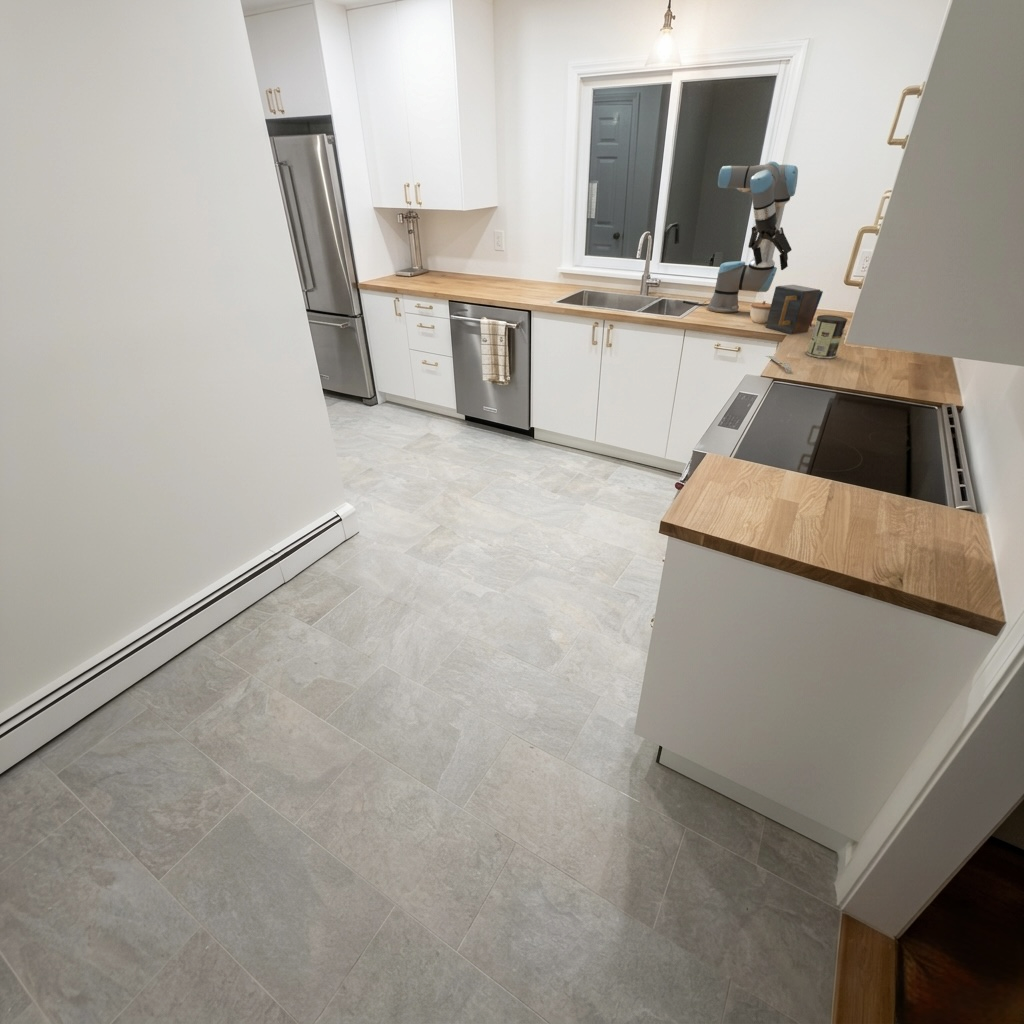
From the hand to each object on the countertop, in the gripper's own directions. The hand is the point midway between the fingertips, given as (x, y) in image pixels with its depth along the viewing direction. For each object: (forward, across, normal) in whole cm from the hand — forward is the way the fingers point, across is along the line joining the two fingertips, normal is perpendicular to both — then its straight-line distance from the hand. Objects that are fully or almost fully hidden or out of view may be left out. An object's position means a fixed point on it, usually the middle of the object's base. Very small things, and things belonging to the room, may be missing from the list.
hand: (771, 265), depth 223 cm
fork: (+10, -39, +38) cm, 55 cm away
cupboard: (+34, 0, -4) cm, 34 cm away
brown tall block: (+42, +4, -18) cm, 47 cm away
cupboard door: (+30, -1, +3) cm, 30 cm away
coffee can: (+23, -36, +15) cm, 45 cm away
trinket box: (+35, +17, -4) cm, 39 cm away
